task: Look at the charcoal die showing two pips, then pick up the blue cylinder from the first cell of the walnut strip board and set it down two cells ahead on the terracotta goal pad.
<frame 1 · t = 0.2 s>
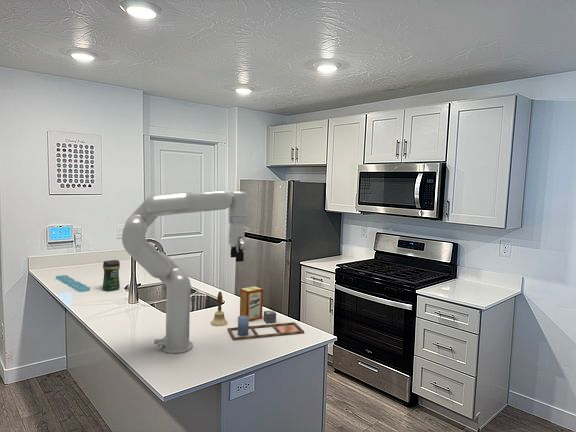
hand: (236, 259, 175), 37 cm above the worktop, tool pointing down, fingers open, 9 cm apart
letter sign: (72, 285, 262), on the worktop
baking soda box: (250, 318, 208), on the worktop
hand bell: (219, 323, 200), on the worktop
coffee jar: (111, 289, 253), on the worktop
blue cylinder: (243, 334, 186), resting in board
die: (269, 321, 204), on the worktop
board: (265, 331, 190), on the worktop
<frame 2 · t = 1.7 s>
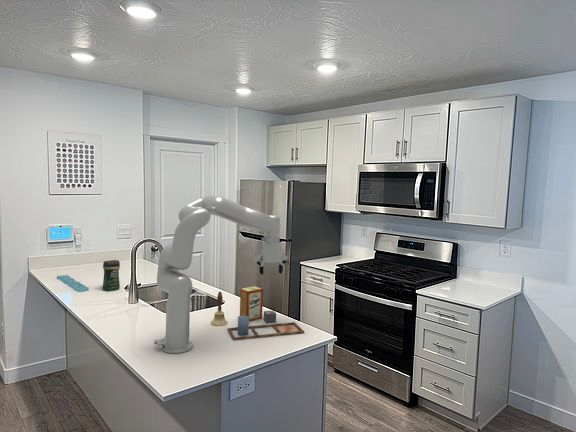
hand: (271, 273, 202), 25 cm above the worktop, tool pointing down, fingers open, 9 cm apart
nothing on the worktop moved.
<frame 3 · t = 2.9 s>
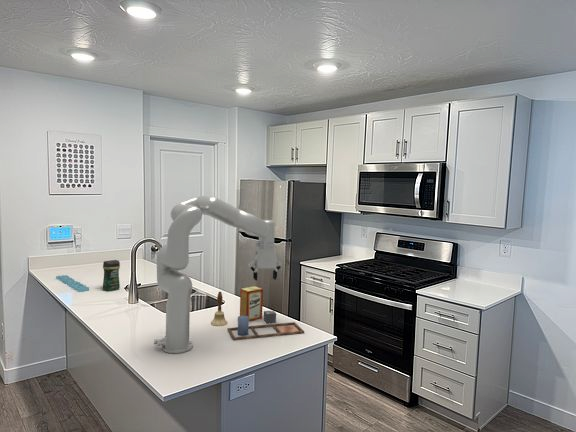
hand: (265, 279, 198), 23 cm above the worktop, tool pointing down, fingers open, 9 cm apart
nothing on the worktop moved.
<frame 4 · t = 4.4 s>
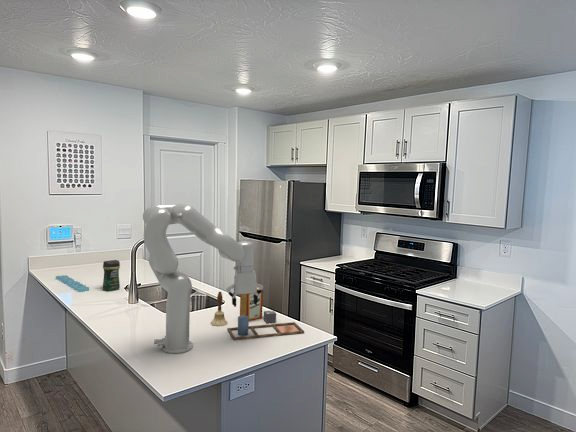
hand: (245, 304, 186), 14 cm above the worktop, tool pointing down, fingers open, 9 cm apart
nothing on the worktop moved.
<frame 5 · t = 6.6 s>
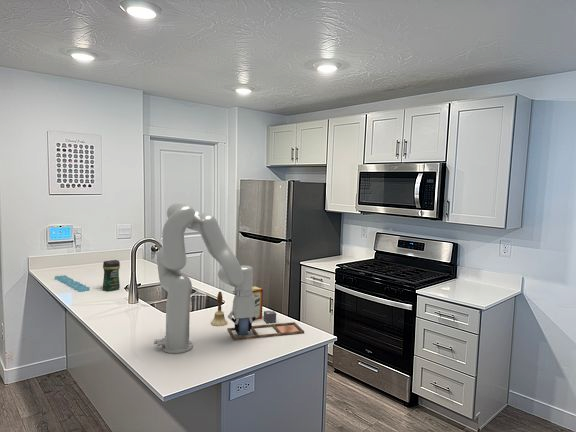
hand: (243, 330, 186), 1 cm above the worktop, tool pointing down, fingers closed on blue cylinder, 5 cm apart
blue cylinder: (243, 334, 186), resting in board, touching gripper
everything else where it was.
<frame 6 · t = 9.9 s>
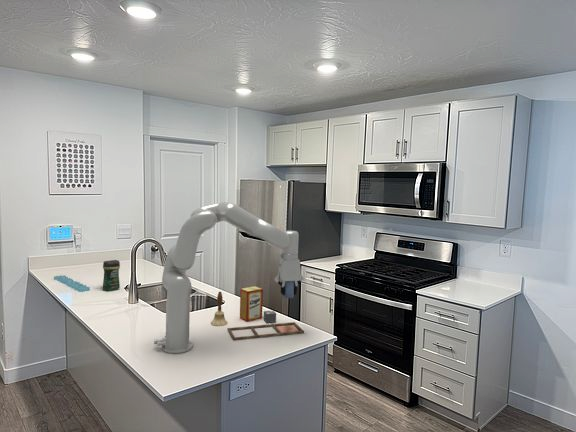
hand: (288, 293, 192), 18 cm above the worktop, tool pointing down, fingers closed on blue cylinder, 5 cm apart
blue cylinder: (288, 296, 193), point 16 cm above the worktop, touching gripper
everything else where it was.
when the fingers open (3 cm above the worktop, at t = 13.5 s): blue cylinder drops 1 cm, resting on board.
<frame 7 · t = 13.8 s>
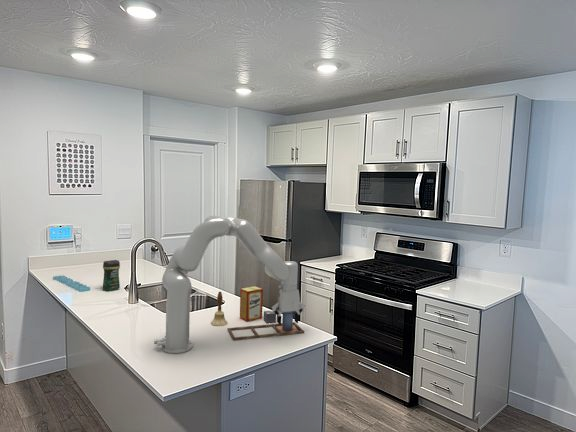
hand: (287, 322, 194), 3 cm above the worktop, tool pointing down, fingers open, 8 cm apart
blue cylinder: (287, 329, 194), resting on board
everything else where it was.
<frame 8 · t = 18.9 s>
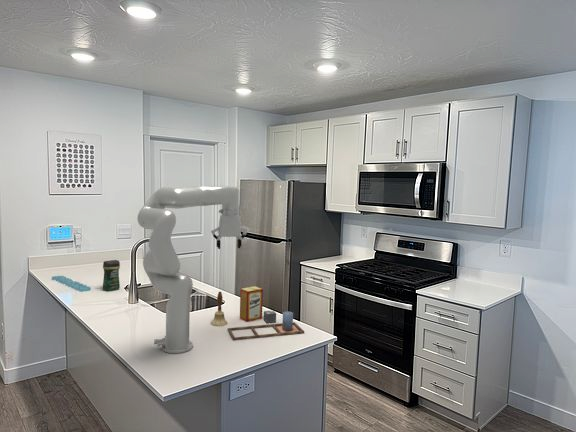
hand: (229, 248, 193), 38 cm above the worktop, tool pointing down, fingers open, 9 cm apart
at the end: blue cylinder 0.2 cm from the target spot on the board, point 0.2 cm above the board's base; blue cylinder tilted 0°; the gripper is holding nothing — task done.
